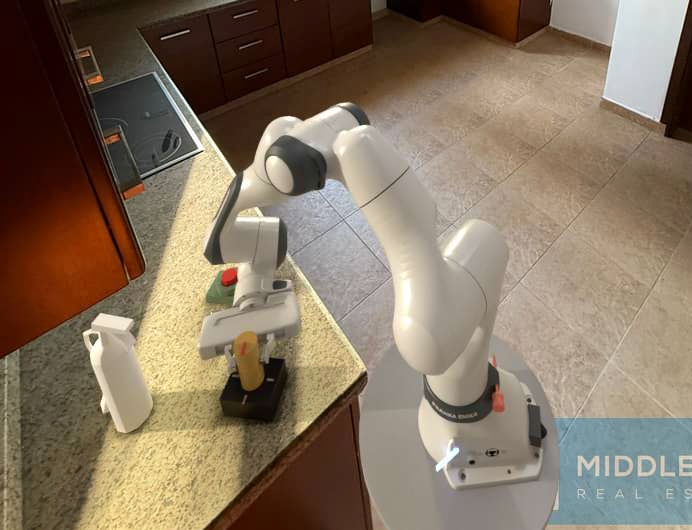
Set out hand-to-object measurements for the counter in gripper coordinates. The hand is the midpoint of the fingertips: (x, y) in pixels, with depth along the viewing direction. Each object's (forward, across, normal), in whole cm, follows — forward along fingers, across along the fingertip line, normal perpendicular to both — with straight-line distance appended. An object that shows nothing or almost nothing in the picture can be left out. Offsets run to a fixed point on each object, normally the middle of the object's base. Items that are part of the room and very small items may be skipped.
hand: (248, 366), depth 82 cm
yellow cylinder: (-1, 0, +5) cm, 5 cm away
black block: (-2, 0, +10) cm, 10 cm away
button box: (-27, -8, +10) cm, 29 cm away
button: (-27, -8, +6) cm, 28 cm away
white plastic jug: (-5, -24, +10) cm, 27 cm away
